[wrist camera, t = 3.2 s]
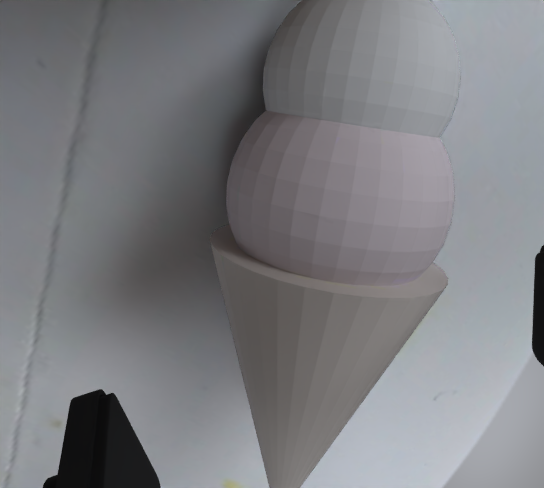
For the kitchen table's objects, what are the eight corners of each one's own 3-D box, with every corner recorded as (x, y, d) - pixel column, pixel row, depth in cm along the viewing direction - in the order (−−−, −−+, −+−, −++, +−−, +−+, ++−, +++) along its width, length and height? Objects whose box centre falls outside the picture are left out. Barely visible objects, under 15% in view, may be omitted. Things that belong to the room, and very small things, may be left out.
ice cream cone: (238, 430, 19) (305, 4, 16) (398, 500, 17) (523, 19, 13) (129, 540, 14) (189, -72, 10) (340, 667, 12) (524, -70, 8)
